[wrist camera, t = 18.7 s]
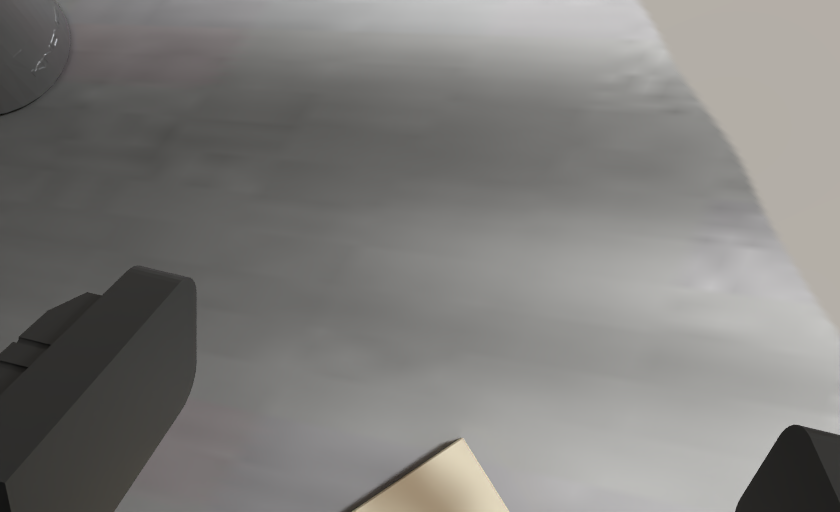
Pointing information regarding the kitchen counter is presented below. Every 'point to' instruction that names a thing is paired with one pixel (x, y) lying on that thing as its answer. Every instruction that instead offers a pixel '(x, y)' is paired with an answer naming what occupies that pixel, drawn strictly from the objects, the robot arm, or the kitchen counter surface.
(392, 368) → the kitchen counter surface
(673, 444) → the kitchen counter surface
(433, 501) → the stool seat board
